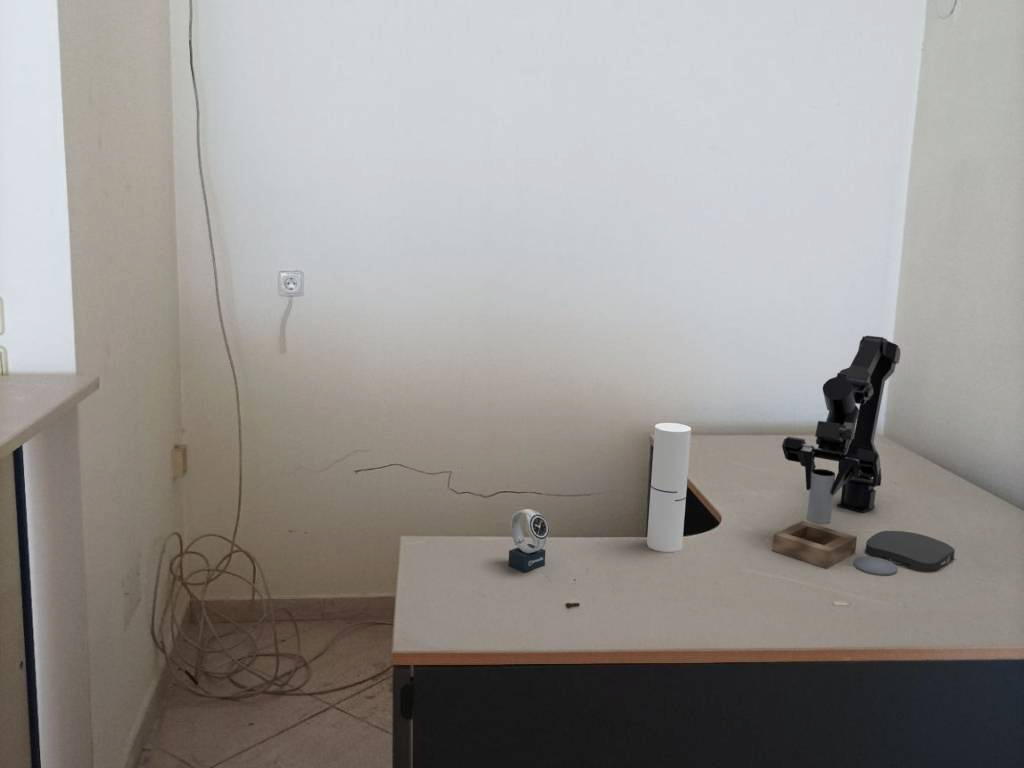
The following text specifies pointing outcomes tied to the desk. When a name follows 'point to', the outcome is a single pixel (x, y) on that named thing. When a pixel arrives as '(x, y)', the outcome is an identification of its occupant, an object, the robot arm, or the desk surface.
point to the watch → (528, 554)
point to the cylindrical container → (668, 486)
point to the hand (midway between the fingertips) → (819, 491)
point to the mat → (875, 566)
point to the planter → (820, 496)
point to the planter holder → (814, 544)
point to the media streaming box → (910, 550)
